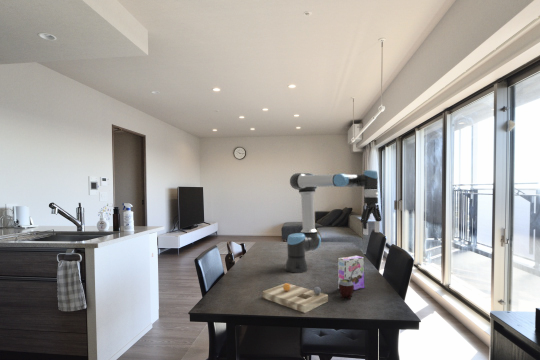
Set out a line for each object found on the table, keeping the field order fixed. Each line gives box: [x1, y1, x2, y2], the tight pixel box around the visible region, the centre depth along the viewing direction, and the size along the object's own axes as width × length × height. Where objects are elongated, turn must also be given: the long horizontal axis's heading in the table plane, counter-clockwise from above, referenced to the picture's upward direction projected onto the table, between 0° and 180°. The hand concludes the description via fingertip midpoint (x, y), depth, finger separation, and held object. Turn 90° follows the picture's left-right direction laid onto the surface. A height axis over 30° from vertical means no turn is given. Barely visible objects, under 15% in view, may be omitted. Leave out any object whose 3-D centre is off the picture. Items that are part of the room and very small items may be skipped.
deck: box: [262, 283, 329, 314], centre depth 139 cm, size 26×18×3 cm
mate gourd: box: [339, 267, 358, 301], centre depth 142 cm, size 8×8×15 cm
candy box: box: [337, 255, 365, 291], centre depth 154 cm, size 14×6×16 cm, turn 117°
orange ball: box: [283, 282, 290, 291], centre depth 143 cm, size 4×4×4 cm
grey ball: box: [312, 286, 322, 295], centre depth 137 cm, size 4×4×4 cm
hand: (371, 233), depth 167 cm, fingers open, 13 cm apart
